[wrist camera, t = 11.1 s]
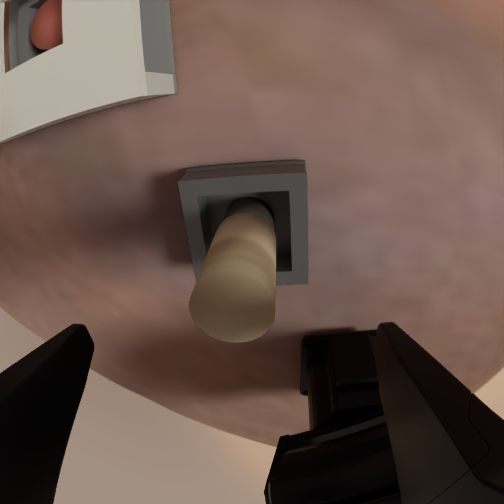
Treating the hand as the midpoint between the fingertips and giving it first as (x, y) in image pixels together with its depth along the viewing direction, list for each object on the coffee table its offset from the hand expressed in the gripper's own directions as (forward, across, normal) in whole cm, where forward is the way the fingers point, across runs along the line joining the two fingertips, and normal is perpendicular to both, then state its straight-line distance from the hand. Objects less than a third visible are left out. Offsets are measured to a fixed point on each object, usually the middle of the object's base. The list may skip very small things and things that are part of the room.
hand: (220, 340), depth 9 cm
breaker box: (+10, +8, -12) cm, 18 cm away
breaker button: (+9, +8, -12) cm, 17 cm away
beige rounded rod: (+9, 0, 0) cm, 9 cm away
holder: (+9, 0, 0) cm, 9 cm away
